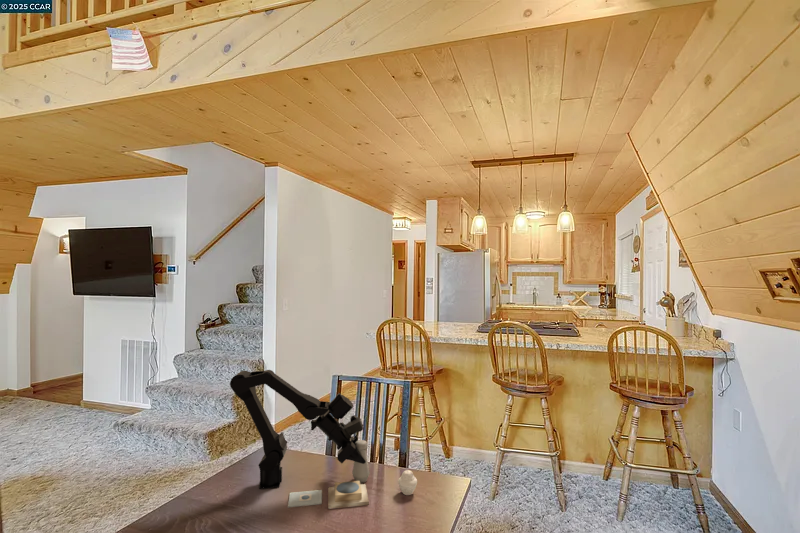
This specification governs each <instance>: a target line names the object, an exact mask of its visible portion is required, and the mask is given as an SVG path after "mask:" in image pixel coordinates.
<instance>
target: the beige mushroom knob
mask: <svg viewBox="0 0 800 533" xmlns="http://www.w3.org/2000/svg"><path fill="white" fill-rule="evenodd" d="M356 443H357V450H358V451H359V452H360V454H361V455H362V456H363V458H364V459H365V461H366V462H365V464H362V463H358V462H355V461H353V468H352V472H351V473H352V477H353V480H354V481H360V484H363V483H365V482H367V480H368V478H369V476H370V468H369V463H368V462H369V461H368V456H367V448H368V442H367V441H366V440H363V439H360V440H358V439H357V441H356V442H355V444H356Z"/></svg>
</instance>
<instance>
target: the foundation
mask: <svg viewBox="0 0 800 533" xmlns="http://www.w3.org/2000/svg"><path fill="white" fill-rule="evenodd" d="M327 490H328V492H327V496H328V503H327V504H328V509H329V510H330V509H331V510H332V509H341V508H350V507H360V506H369V504H370V501H369V495H368V491H367V485H366V483H364V484H363V483H360V481H355V480H352V481H351V480H350V481H340V482H334V486H329V487H328V488H327Z"/></svg>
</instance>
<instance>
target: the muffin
mask: <svg viewBox="0 0 800 533" xmlns="http://www.w3.org/2000/svg"><path fill="white" fill-rule="evenodd" d="M397 484H398V487H399V489H400V491H401V492H402V494H403V495H404V496H405V495H406V496H410V495H413V493H414V491H416V490H415V489H416V488H417V484H418V479H417V477H416V476H415V475H414V473H413V471H412V470H408V469H406V470H404V471H402V474H401V476H400V477H399V478H398V480H397Z"/></svg>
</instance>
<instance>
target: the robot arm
mask: <svg viewBox="0 0 800 533" xmlns="http://www.w3.org/2000/svg"><path fill="white" fill-rule="evenodd" d="M261 385H266V386H267V387H269V389H271V390H273V391H274V392H276V393H277V394H278V395H280V396H281V397H283V398H284V399H285V400H286V401H288V402H290V403H292V405H293V406H294V407H295V408H296V410H297V411H298V413H299V414H301V415H302V417H303V418H305V419H306V420H309V421H310V425H311V426H310V428H311V429H310V430H311V431H314V430H315V429H316V428H319V430H320V431H321V432H322V433H323V434H324V435H325V436H326V437H327V441H328V442H331V441H332V443H333V444H335V445H336V449H337V450H338V451H337V461H338V462H339V463H340V464H343V463H344V462H345V461H348V460H349V461H352V462H354V461H355V462H358V463H362V464H365V462H366V461H365V459H364V458H363V456H362V455H361V454H360V452H359V451H358V450H357V443H356V444H355V442H356V441H358V439H359V438H358V434H357V433H360V432H362V431H363V430H364V423H363V422H362V418H360V417H359V416H356V415H354V414H353V415H351V416H350V420H349V421H348V422H347V423H344V422H342V421H341V422H339V421H338V420H343V418H345V416H346V415H347V414H349V412H350V411H351V410H352V409H353V408H354V407H355V406H354V404H353V402H352V401H351V400H350V399H349V398H348V397H347V396H345V395H343V394H341V392H338V394H336V396H335V397H334V398H333V399H332V400H331V401H322V400H320V399H318V398H317V397H315V396H312V395H310V394H307V393H303V392H302V391H300V390H298V389H297V388H296V387H294V386H293V385H291V384H290V383H289V382H287V380H284V379H283V378H282V377H280V376H279V375H277V374H276V373H275V372H274V371H273V370H271V369H266V370H257V371H248V370H242V371H239V372H237V373H236V374H235V375H234V376H233V377H232V378H231V379H230V383H229V386H230V389H231V390H232V391H233V393H234V394H235V395H236V397H238V398H239V399H240V400H241V401H242V402H243V403H244V406H245V407H246V409H247V411H248V413H249V415H250V418H251V419H252V422H253V423H254V425H255V428H256V429H257V432H258V433H259V435H260V438H261V440H262V447H263V452H264V454H263V457H262V458H261V460H260V462H259V463H258V468H259V486H258V489H259V490H262V489H273V488H279V487H280V486H281V483H282V481H283V466H281V463H282V461H283V459H284V457H285V455H286V452H287V450H288V445H287V444H288V440H286V438H285V436H284V432H280V433H278V432H276V430H275V428H274V427H273V425H272V423H271V421H270V418H269V417H268V415H267V413H266V411H265V409H264V407H263V405H262V402H261V401H260V398H259V396H258V394H257V389H256V387H258V386H261ZM354 434H356V435H355V436H353V435H354Z"/></svg>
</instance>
